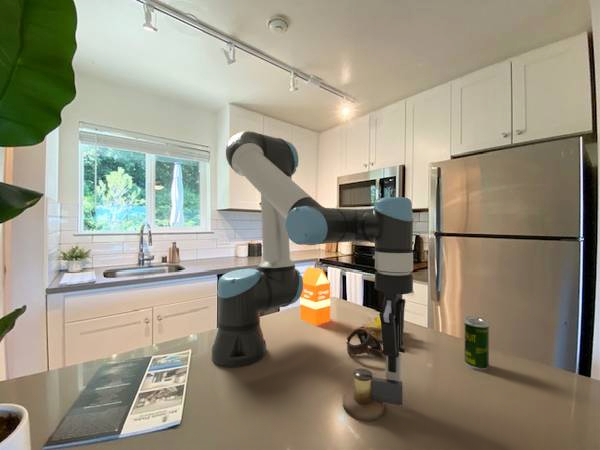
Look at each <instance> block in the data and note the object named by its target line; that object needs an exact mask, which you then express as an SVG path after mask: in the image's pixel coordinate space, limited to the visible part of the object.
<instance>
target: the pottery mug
mask: <svg viewBox="0 0 600 450" xmlns="http://www.w3.org/2000/svg"><path fill="white" fill-rule="evenodd" d="M366 328H367V327H365V326H363V325H362V326H359V327H358V328H355V329H353V330H352V331H350V333H349V334H348V335H347V337H346V340H347V341H346V351H347V354H348V355H354V356H357V355H362V354H367V355H369V354H370V352H369V347H370V349H371V350H375V351H378V352H380V355H381V357H380V358H384V355H383V354H382V351H383V346H382V344H381V342H380V341H381V340H379V338H378V337H376V335H375V334H376V333H374V332H369V330H368V329H366ZM355 336H356V337H357V339H359V344H352V343H351V340H352V339H353V337H355Z"/></svg>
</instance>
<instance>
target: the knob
mask: <svg viewBox="0 0 600 450" xmlns="http://www.w3.org/2000/svg"><path fill="white" fill-rule="evenodd" d="M352 376H353V388H354V400H355V401H356V402H357V403H359V404H362V405H367V404H370V403H371V402H372V400H373V401H378V402H383V404H391V405H395V406H403V381H402V380H401V381H395V380H388V379H386V378H383V377H382V378H380V377H374V376H373V372H372V371H371V370H369V369H367V368H364V367H363V368H362V367H361V368H360V367H359V368H356V369H353V372H352Z"/></svg>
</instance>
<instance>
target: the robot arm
mask: <svg viewBox="0 0 600 450" xmlns="http://www.w3.org/2000/svg"><path fill="white" fill-rule="evenodd" d="M225 159H226V160H227V163H228V165H229V166H230V168H231V169H232V170H233V171H234V172H235V173H236V174H237V175H239V176H241V177H245V179H247V181H248V182H249V183H250V184H252V186H253V187H254V189H256V190H257V191H258V192H259V193H260V205H261V207H260V208H261V209H260V211H261V232H262V233H261V236H262V237H261V239H262V242H261V243H262V261H261V262H260V263H259V264H258V268H257V269H256V268H244V269H241V268H239V269H236V270H232V271H229V272H228V271H227V273H224V274H222V276H220V277H219V278H218V282H217V292H216V295H217V332H216V336H215V338H214V339H215V340H214V342H213V345H212V348H211V359H212V362H213V363H214V364H216V365H219V366H221V367H224V368H225V367H226V368H240V367H245V366H251V365H252V364H255V363H257V362H259V361H261V360H262V359H263V358H264V357H265V356H266V354H267V343H266V340H265V339H264V333H263V331H262V327H261V320H260V319H261V313H263V312H268V311H271V310H276V309H280V308H285V307H288V306H290V305H292V304H294V303H296V302H298V300H299V299H300V296H301V294H302V291H303V279H302V277H303V275H301V272H300V270H299V269H297V268H296V264H295V262H294V261H293V260H292V259H291V254H290V253H291V251H290V241H291V242H292V243H295V244H296V245H300V246H301V245H302V246H304V245H306V246H316V245H324V244H325V245H326V244H334V243H335V244H337V243H350V242H358V243H359V242H363V243H374V254H373V256H372V259H373V260H374V269H375V270H376V271H375V273H374V289H375V290H376V291H378V292H380V293H383V294H384V296H383V299H382V300H381V309H382V311H380V312H379V314H378V317H380V320H381V329H382V342H381V343H382V354H383V356H385V379H388V380H395V381H401V382H402V353H403V354H405V352H406V348H403V347H402V346H404V328H405V326H404V325H405V307H406V299H405V298H403V295H407V294H411V293H412V292H413V290H414V276H413V275H412V273H411V272H413V271H414V252H413V241H414V240H413V238H414V237H413V236H414V235H413V231H414V230H413V227H414V218H413V217H414V215H413V202H412V200H411V199H410V198H408V197H403V196H402V197H401V196H400V197H399V196H389V197H381V198H380V197H379V198H376V199H375V201H374V206H373V208H372V207H371V208H356V209H355V208H352V209H351V208H336V207H325V206H322V204H320V203H319V202H317V201H316V199H314V198H313V197H312V196H311V195H310V194H308V193H307V191H305V190H304V189H303V188H302V187H300V185H298V184H297V183H296V182H295V181H294V180H292V179H293V177H292V176H293V175H295V173H296V172H297V168H298V166H299V154H298V151H297V149H296V147H295V145H294V144H293V143H292V142H290V141H287V140H285V139H283V138H281V137H275V136H274V137H273V136H270V135H267V134H262V133H258V132H254V131H249V130H248V131H247V130H246V131H241V132H238V133H236V134H235V135H233V136H232V137H231V138H230V139H229V141H228V143H227V145H226V148H225Z"/></svg>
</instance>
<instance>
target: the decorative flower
mask: <svg viewBox="0 0 600 450" xmlns="http://www.w3.org/2000/svg"><path fill="white" fill-rule="evenodd" d="M361 325H362V326H364V327H365V328H366V329H368V330H369V332H372V333H374V334H375V335H376V337H377V338H378V340H379V341H382V329H381V320H380V316H376V317H374V316H368V317H367V322H366V323H362V324H361Z"/></svg>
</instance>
